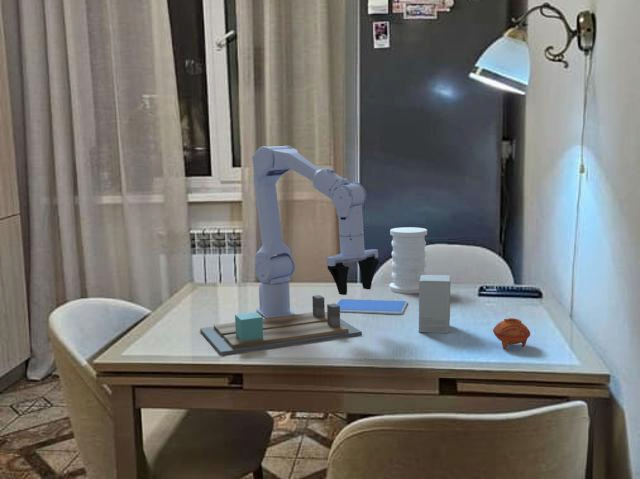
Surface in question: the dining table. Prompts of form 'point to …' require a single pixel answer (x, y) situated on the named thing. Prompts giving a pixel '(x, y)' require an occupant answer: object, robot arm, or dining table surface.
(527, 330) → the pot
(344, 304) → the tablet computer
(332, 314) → the strip
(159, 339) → the dining table surface
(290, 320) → the strip
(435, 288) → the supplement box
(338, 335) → the lane board
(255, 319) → the teal block
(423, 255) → the decorative container
